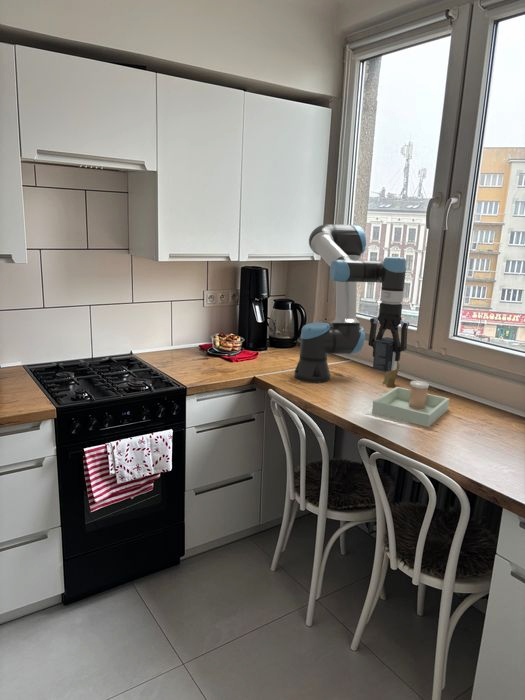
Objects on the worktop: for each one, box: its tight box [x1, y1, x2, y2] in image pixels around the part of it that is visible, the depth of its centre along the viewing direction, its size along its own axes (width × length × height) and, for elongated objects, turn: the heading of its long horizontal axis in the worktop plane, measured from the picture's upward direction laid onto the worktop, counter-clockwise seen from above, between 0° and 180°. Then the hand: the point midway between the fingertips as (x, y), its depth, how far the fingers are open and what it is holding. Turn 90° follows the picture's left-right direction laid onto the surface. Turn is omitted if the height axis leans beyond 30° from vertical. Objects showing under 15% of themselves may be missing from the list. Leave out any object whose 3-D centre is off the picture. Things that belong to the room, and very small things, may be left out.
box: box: [372, 337, 399, 373], centre depth 187 cm, size 8×6×11 cm
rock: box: [382, 362, 401, 389], centre depth 221 cm, size 11×9×10 cm
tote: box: [371, 386, 450, 428], centre depth 190 cm, size 20×22×5 cm
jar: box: [409, 380, 430, 409], centre depth 195 cm, size 7×7×9 cm
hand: (385, 367), depth 188 cm, fingers closed on box, 6 cm apart
